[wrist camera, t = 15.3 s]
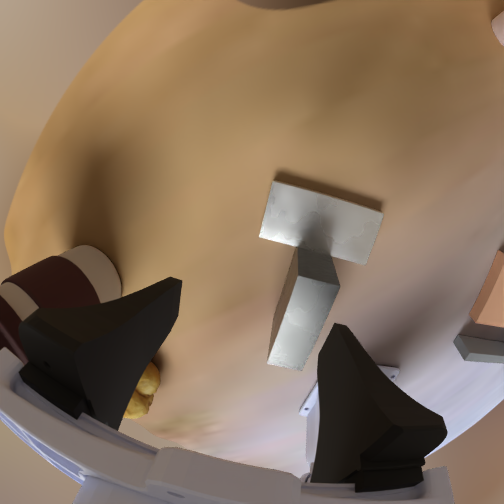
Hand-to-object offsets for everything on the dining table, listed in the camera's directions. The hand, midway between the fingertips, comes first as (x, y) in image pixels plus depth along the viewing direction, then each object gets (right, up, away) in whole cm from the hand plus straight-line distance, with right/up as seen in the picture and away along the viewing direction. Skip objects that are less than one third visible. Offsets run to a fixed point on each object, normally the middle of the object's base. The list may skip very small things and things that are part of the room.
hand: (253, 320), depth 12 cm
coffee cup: (-16, +1, +12) cm, 20 cm away
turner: (+4, +2, +8) cm, 10 cm away
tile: (+25, 0, +7) cm, 26 cm away
